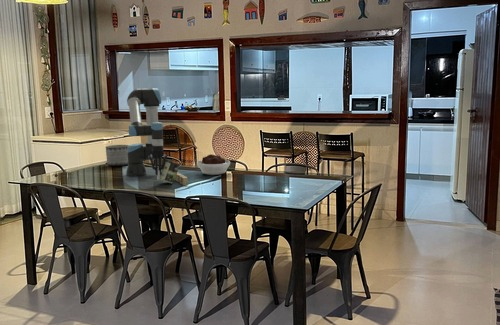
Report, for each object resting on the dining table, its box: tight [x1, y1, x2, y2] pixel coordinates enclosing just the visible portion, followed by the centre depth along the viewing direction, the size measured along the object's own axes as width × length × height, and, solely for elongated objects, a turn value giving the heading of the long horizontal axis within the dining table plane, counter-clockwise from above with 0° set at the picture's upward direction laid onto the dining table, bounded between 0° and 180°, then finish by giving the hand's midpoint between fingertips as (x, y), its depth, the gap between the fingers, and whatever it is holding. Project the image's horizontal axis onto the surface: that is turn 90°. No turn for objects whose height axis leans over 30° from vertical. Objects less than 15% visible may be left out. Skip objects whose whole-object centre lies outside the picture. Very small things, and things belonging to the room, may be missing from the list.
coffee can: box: [159, 159, 181, 184], centre depth 333 cm, size 10×10×14 cm
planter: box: [105, 144, 129, 167], centre depth 409 cm, size 19×19×16 cm
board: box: [174, 171, 189, 186], centre depth 338 cm, size 22×3×5 cm, turn 25°
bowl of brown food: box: [196, 153, 231, 176], centre depth 365 cm, size 25×25×15 cm
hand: (158, 179), depth 331 cm, fingers closed
